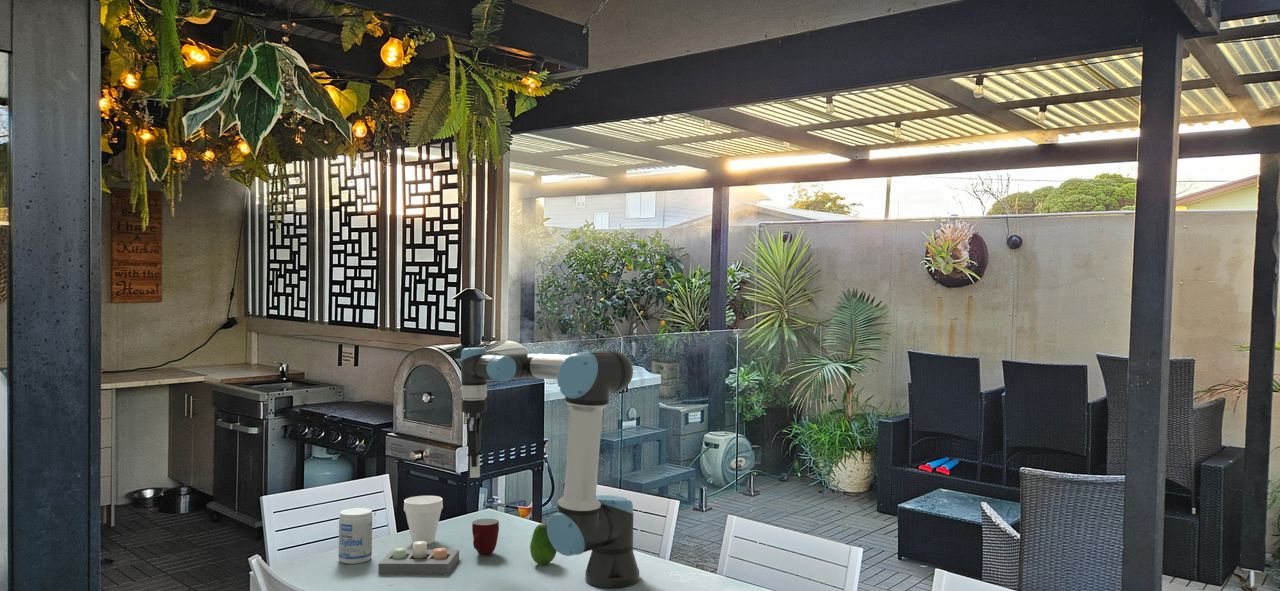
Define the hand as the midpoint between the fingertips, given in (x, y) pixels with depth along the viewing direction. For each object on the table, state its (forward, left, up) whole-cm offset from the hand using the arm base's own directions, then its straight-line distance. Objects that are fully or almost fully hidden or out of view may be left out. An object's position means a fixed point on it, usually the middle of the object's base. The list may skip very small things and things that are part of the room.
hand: (474, 477), depth 262 cm
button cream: (+8, +14, -22) cm, 27 cm away
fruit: (-20, -9, -25) cm, 33 cm away
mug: (+1, -4, -25) cm, 25 cm away
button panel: (+8, +14, -25) cm, 30 cm away
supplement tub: (+29, +22, -25) cm, 44 cm away
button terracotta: (+3, +11, -24) cm, 26 cm away
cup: (+28, -3, -25) cm, 38 cm away
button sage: (+13, +18, -24) cm, 32 cm away
